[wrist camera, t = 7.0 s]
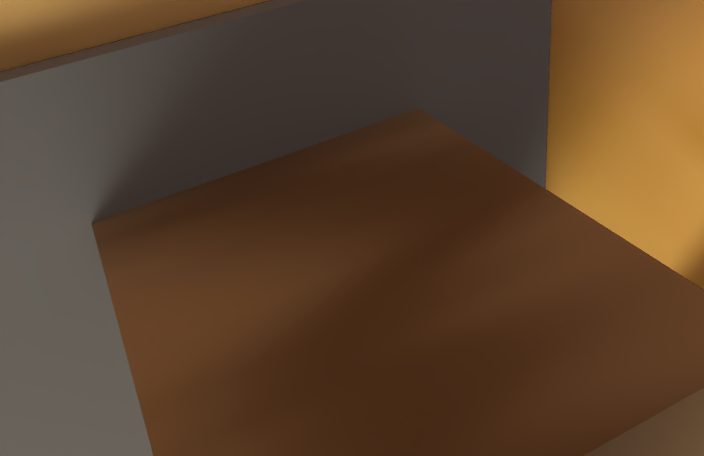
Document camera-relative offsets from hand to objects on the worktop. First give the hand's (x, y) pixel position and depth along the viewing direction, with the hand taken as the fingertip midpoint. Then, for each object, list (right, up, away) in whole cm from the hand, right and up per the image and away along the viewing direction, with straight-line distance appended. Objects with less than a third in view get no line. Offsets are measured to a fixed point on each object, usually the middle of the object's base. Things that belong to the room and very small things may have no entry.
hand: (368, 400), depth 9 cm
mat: (-1, +1, +2) cm, 3 cm away
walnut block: (-1, +1, +2) cm, 3 cm away
